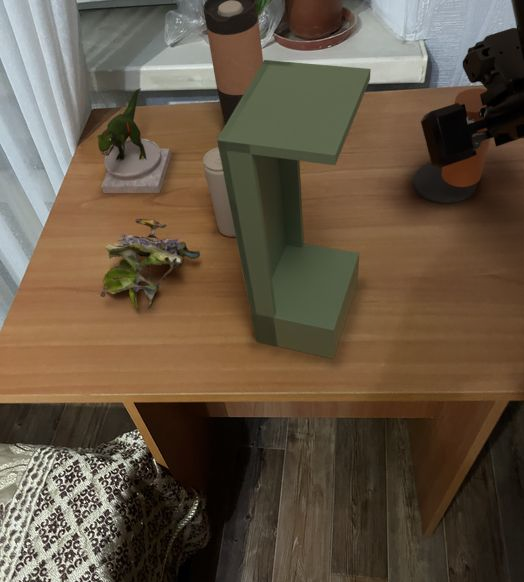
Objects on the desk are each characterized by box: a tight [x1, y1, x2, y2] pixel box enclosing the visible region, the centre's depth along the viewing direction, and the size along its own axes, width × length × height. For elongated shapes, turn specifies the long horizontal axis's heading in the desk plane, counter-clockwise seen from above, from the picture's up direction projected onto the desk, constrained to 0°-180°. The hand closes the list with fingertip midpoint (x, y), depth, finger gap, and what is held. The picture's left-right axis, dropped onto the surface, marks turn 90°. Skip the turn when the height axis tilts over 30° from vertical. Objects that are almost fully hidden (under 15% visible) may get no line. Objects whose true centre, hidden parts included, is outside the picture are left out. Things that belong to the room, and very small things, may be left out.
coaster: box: [412, 162, 478, 205], centre depth 81 cm, size 9×9×1 cm
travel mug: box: [203, 0, 264, 126], centre depth 85 cm, size 8×8×20 cm
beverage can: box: [202, 147, 236, 238], centre depth 76 cm, size 5×5×12 cm
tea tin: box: [441, 87, 491, 187], centre depth 72 cm, size 5×5×11 cm
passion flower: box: [99, 218, 201, 310], centre depth 73 cm, size 11×11×12 cm
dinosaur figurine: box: [96, 87, 172, 194], centre depth 86 cm, size 9×20×12 cm, turn 174°
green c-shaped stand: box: [216, 59, 371, 360], centre depth 59 cm, size 10×12×29 cm
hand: (464, 134), depth 72 cm, fingers closed on tea tin, 5 cm apart
